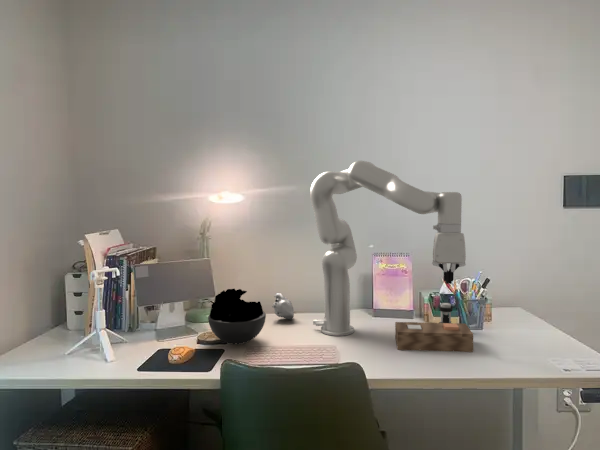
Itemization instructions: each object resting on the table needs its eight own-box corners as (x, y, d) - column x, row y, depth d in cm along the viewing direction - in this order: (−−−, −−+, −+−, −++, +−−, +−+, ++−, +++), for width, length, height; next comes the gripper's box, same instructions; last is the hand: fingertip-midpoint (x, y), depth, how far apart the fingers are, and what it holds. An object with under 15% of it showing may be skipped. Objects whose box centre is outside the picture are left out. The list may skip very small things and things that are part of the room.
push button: (454, 328, 178) (454, 302, 177) (458, 332, 173) (458, 305, 172) (436, 328, 178) (437, 302, 178) (439, 332, 173) (440, 305, 172)
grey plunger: (408, 345, 158) (408, 328, 157) (407, 341, 162) (407, 324, 162) (421, 346, 157) (421, 328, 157) (420, 342, 161) (420, 325, 161)
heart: (289, 325, 184) (291, 294, 185) (268, 322, 188) (270, 292, 189) (299, 323, 193) (302, 294, 194) (279, 320, 197) (281, 292, 198)
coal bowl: (236, 331, 178) (235, 282, 177) (277, 340, 166) (276, 288, 165) (196, 345, 162) (195, 292, 160) (239, 356, 150) (238, 299, 149)
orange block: (445, 344, 156) (445, 326, 156) (442, 340, 160) (442, 323, 160) (458, 344, 155) (458, 327, 155) (456, 340, 160) (456, 323, 159)
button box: (397, 349, 155) (397, 332, 154) (395, 338, 166) (395, 321, 166) (473, 352, 151) (473, 333, 151) (465, 340, 163) (465, 323, 163)
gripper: (427, 229, 154) (426, 284, 155) (475, 230, 151) (473, 285, 153) (424, 228, 161) (424, 280, 162) (470, 228, 159) (469, 281, 160)
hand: (448, 283), depth 158 cm, fingers closed
